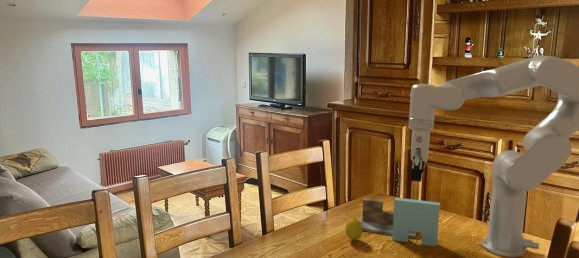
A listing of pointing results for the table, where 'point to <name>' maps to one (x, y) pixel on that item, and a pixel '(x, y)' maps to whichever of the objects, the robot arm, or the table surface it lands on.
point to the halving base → (381, 228)
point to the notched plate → (416, 220)
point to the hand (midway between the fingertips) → (417, 176)
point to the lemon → (353, 228)
